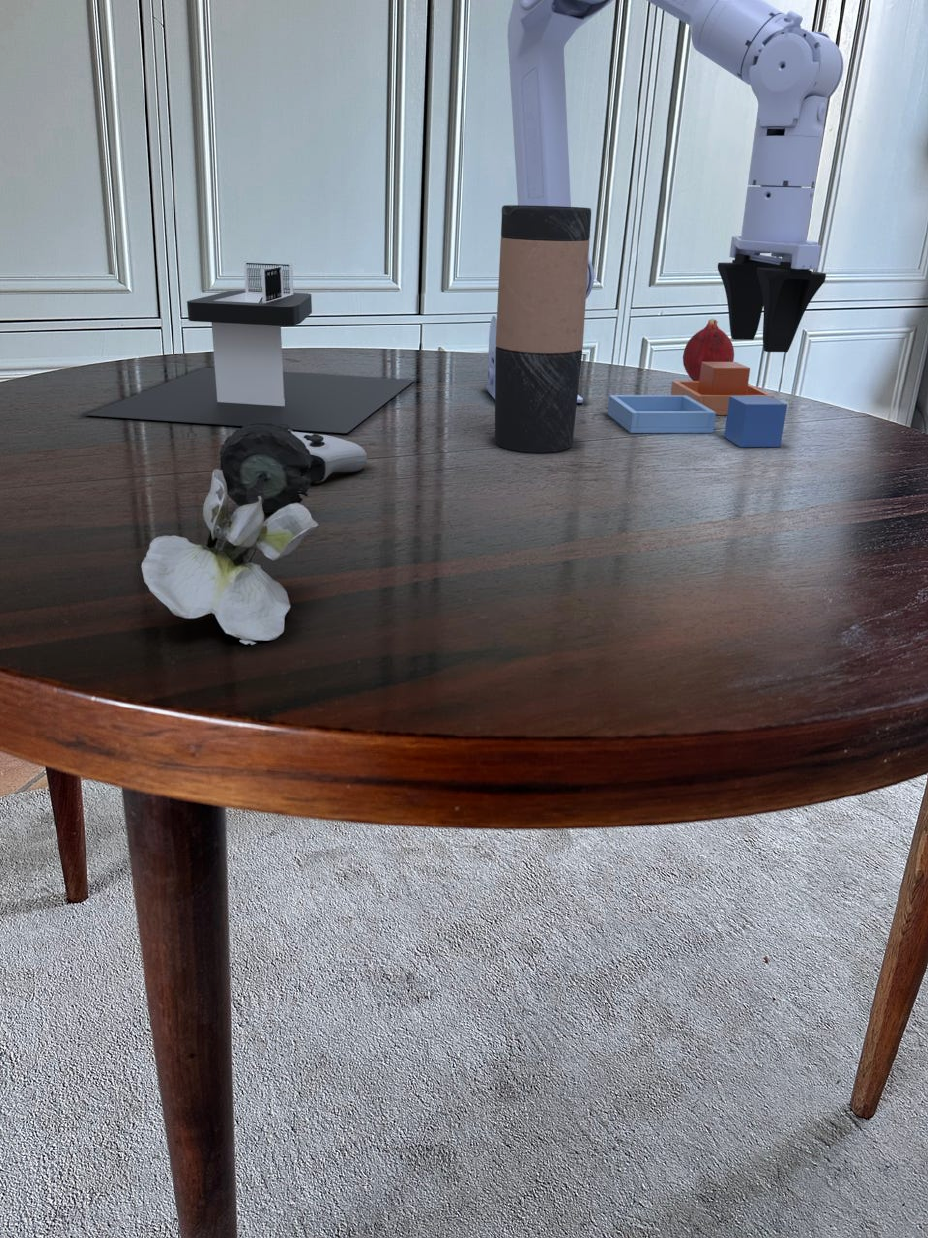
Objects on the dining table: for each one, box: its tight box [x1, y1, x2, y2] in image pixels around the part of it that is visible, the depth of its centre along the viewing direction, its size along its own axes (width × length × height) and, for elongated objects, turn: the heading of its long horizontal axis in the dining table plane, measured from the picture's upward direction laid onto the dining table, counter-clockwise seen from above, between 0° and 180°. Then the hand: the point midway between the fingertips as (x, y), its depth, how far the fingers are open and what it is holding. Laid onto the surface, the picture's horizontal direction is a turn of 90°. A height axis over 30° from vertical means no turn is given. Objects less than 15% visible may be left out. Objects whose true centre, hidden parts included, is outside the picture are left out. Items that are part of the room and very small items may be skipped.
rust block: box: [698, 361, 751, 395], centre depth 107 cm, size 4×4×4 cm
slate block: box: [723, 396, 788, 448], centre depth 93 cm, size 4×4×4 cm
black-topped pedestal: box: [85, 260, 415, 434], centre depth 103 cm, size 28×26×13 cm
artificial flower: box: [141, 423, 319, 646], centre depth 58 cm, size 9×22×10 cm, turn 179°
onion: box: [682, 318, 735, 381], centre depth 116 cm, size 6×6×8 cm
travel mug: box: [494, 204, 592, 454], centre depth 86 cm, size 8×8×20 cm
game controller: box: [278, 424, 368, 484], centre depth 79 cm, size 10×5×6 cm
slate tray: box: [606, 394, 717, 434], centre depth 99 cm, size 8×8×2 cm
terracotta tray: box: [670, 380, 775, 416], centre depth 108 cm, size 8×8×2 cm
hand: (758, 345), depth 93 cm, fingers open, 7 cm apart
